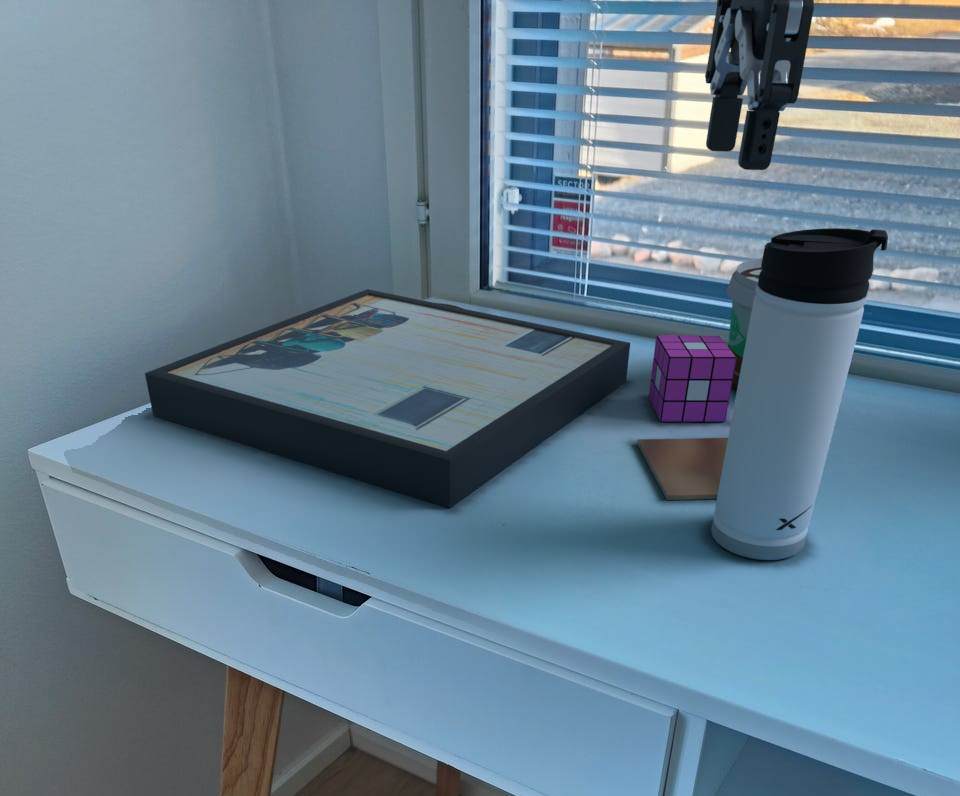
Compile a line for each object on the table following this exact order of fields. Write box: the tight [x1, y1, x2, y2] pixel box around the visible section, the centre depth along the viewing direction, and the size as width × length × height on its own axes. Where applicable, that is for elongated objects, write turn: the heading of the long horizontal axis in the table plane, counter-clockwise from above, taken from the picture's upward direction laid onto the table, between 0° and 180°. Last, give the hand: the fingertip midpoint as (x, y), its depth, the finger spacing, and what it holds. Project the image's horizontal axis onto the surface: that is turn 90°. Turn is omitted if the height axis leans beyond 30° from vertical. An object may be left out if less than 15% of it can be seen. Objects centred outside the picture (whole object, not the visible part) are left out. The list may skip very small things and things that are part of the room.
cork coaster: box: [636, 437, 728, 501], centre depth 73 cm, size 10×10×1 cm
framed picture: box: [144, 288, 631, 509], centre depth 83 cm, size 30×4×30 cm
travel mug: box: [710, 227, 889, 561], centre depth 58 cm, size 6×7×20 cm
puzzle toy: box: [648, 334, 737, 423], centre depth 81 cm, size 6×6×6 cm
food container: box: [725, 257, 763, 391], centre depth 85 cm, size 12×6×10 cm, turn 6°
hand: (735, 159), depth 72 cm, fingers open, 8 cm apart
